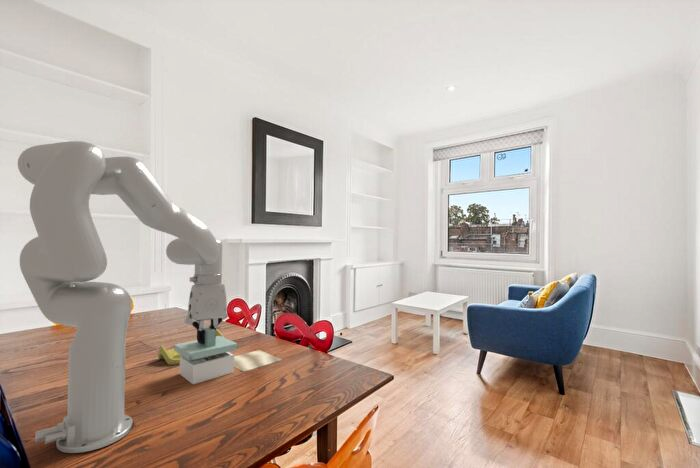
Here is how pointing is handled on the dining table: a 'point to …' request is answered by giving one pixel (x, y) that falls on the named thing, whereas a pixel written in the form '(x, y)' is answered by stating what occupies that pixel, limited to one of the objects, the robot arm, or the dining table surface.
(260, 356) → the board
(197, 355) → the lid
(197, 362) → the steel block
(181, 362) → the tub
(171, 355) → the plastic component
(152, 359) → the dining table surface
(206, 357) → the walnut block
